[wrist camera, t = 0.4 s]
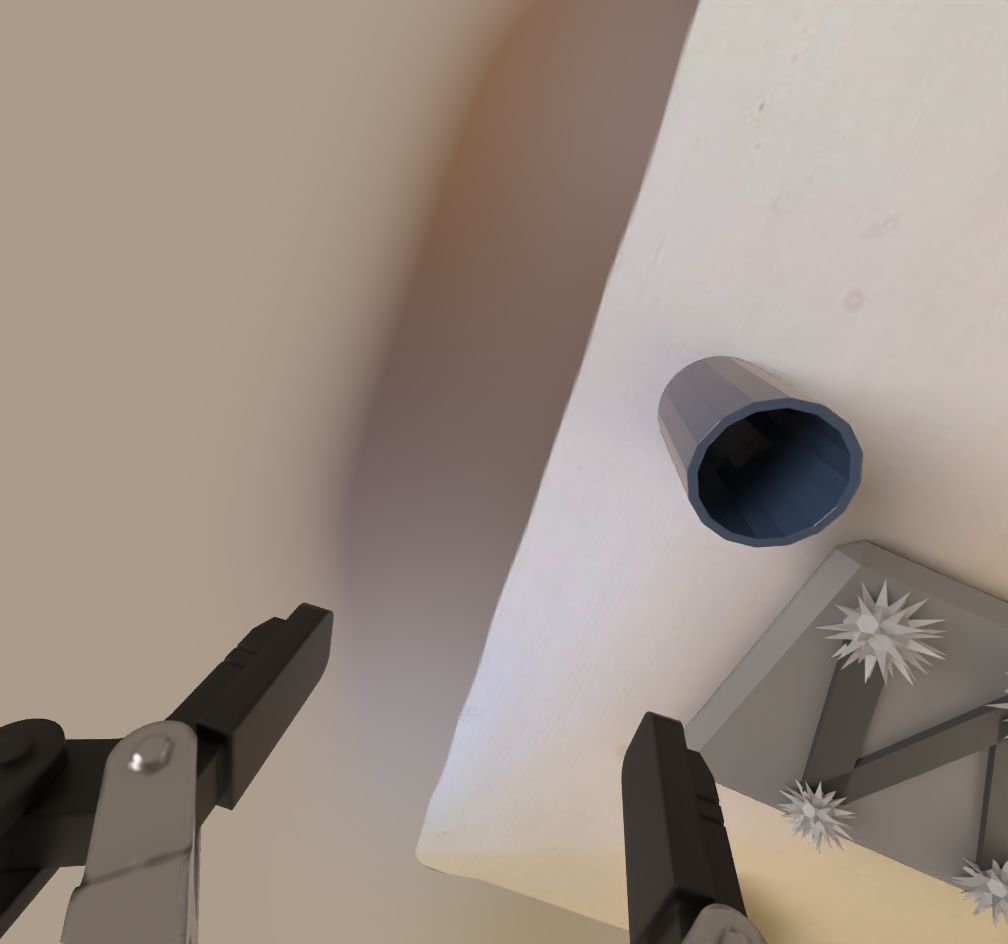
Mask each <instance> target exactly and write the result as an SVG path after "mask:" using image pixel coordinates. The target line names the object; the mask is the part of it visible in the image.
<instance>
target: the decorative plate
mask: <svg viewBox="0 0 1008 944" xmlns="http://www.w3.org/2000/svg"><path fill="white" fill-rule="evenodd" d="M684 735H685V740H686V745H687V748H688V749H691V750H694V751H697V752H700V754H701V756H702V757H703V759H704V761H705V762H706V764H707V766H708V768H709V769H710V771H711V773H712V775H713V776H714V781H715V782H716V783H718V784H721V785H723V786H725V787H727V788H730V789H732V790H734V791H737V792H739V793H741V794H744V795H746V796H748V797H750V798H753V799H755V800H757V801H760V802H762V803H764V804H767V805H769V806H771V807H774V808H776V809H778V810H780V811H783V812H785V813H787V814H785V815H782V816H785V817H795V818H794V819H792V820H791V821H790V822H789V823H794V822H797V823H796V824H795V826H794V827H793V828H792V830H791V831H793V830H795V829H797V828H798V829H797V830H796V832H795V833H794V835H795V834H797V833H799V832H800V831H802V830H803V829H804V831H803V835H802V839H803V837H804V836H805V835H806V834H807V833H808V845H809V843H810V841H812V838H813V836H814V839H815V844H816V850H817V845H818V848H819V853H820V847H821V838H822V834H823V836H824V837H825V839H826V841H827V842H828V844H829V845H830V847H832V849H833V850H834V852H835V849H834V847H833V844H832V841H831V839H830V836H831V837H832V839H833V840H834V841H835V843H836V844H837V845H839V846H840V847H841V848H842V846H841V844H840V842H839V840H838V838H837V836H836V835H838V836H840V837H843V838H845V839H847V840H850V841H852V842H854V843H856V844H859V845H861V846H863V847H866V848H868V849H870V850H873V851H875V852H877V853H879V854H882V855H884V856H886V857H889V858H891V859H893V860H896V861H898V862H900V863H902V864H905V865H907V866H909V867H912V868H914V869H916V870H919V871H921V872H923V873H926V874H928V875H930V876H932V877H935V878H937V879H939V880H942V881H944V882H946V883H949V884H951V885H953V886H955V887H958V888H960V889H962V890H965V891H964V892H961V893H965V894H969V895H968V896H966V897H965V898H963V899H974V898H978V899H977V900H976V901H975V902H977V901H980V903H979V904H978V906H977V908H976V909H975V911H974V912H973V913H975V912H976V913H975V915H977V914H979V913H980V912H982V911H984V910H985V909H987V908H989V907H991V906H992V908H993V924H994V929H995V927H996V925H997V923H998V920H999V918H1000V916H1001V914H1002V912H1003V913H1004V916H1005V918H1006V921H1007V924H1008V603H1007V602H1005V601H1003V600H1000V599H998V598H996V597H993V596H991V595H989V594H986V593H984V592H982V591H979V590H977V589H975V588H973V587H970V586H968V585H966V584H963V583H961V582H959V581H956V580H954V579H952V578H949V577H947V576H945V575H943V574H940V573H938V572H936V571H933V570H931V569H929V568H926V567H924V566H922V565H919V564H917V563H915V562H913V561H910V560H908V559H906V558H903V557H901V556H899V555H896V554H894V553H892V552H889V551H887V550H885V549H882V548H880V547H878V546H876V545H873V544H871V543H869V542H866V541H864V540H861V541H857V542H853V543H849V544H846V545H842V546H838V547H835V548H834V549H833V550H832V552H831V553H830V554H829V555H828V556H827V558H826V559H825V560H824V561H823V562H822V564H821V565H820V566H819V567H818V568H817V570H816V571H815V572H814V573H813V575H812V576H811V577H810V578H809V579H808V581H807V582H806V583H805V584H804V585H803V587H802V588H801V589H800V590H799V591H798V593H797V594H796V595H795V596H794V597H793V599H792V600H791V601H790V602H789V604H788V605H787V606H786V607H785V608H784V610H783V611H782V612H781V613H780V614H779V616H778V617H777V618H776V619H775V620H774V622H773V623H772V624H771V625H770V626H769V628H768V629H767V630H766V631H765V632H764V634H763V635H762V636H761V637H760V639H759V640H758V641H757V642H756V643H755V645H754V646H753V647H752V648H751V649H750V651H749V652H748V653H747V654H746V655H745V657H744V658H743V659H742V660H741V661H740V663H739V664H738V665H737V666H736V668H735V669H734V670H733V671H732V672H731V674H730V675H729V676H728V677H727V678H726V680H725V681H724V682H723V683H722V684H721V686H720V687H719V688H718V689H717V690H716V692H715V693H714V694H713V695H712V697H711V698H710V699H709V700H708V701H707V703H706V704H705V705H704V706H703V707H702V709H701V710H700V711H699V712H698V713H697V715H696V716H695V717H694V718H693V719H692V721H691V722H690V723H689V724H688V726H687V727H686V728H685V729H684ZM789 823H788V824H789ZM791 831H790V832H791ZM790 832H789V833H790ZM794 835H793V836H794ZM829 835H830V836H829ZM802 839H801V840H802ZM839 846H838V847H839ZM842 849H843V848H842ZM843 851H844V850H843ZM835 853H836V852H835ZM975 915H974V916H975Z"/></svg>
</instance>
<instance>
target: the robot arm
mask: <svg viewBox="0 0 1008 944" xmlns="http://www.w3.org/2000/svg"><path fill="white" fill-rule="evenodd" d="M333 616H334V615H333V612H332V611H330V610H326V609H323V608H320V607H317V606H314V605H310V604H308V603H302V604H301V605H300V606H298V607H297V609H296V610H295V611H294V612H293V613H292V614H291V615H290V616H289V618H288V619H287V620H283V619H280V618H277V617H273V618H272V619H270V620H268V621H266V622H265V623H262V624H261V625H259V626H257V627H255V628H253V629H252V630H251V631H250V633H249V634H248V635H247V636H246V637H245V638H244V639H243V640H242V641H241V642H240V643H239V644H238V646H237V648H235V649H233V650H232V651H231V652H230V653H229V654H228V656H227V657H226V658H225V660H224V661H223V662H221V663H220V664H219V665H218V666H217V667H216V668H215V669H214V670H213V671H212V672H211V673H210V674H209V675H208V677H206V679H205V680H204V681H203V682H202V683H201V684H200V685H199V686H198V687H197V688H196V689H195V690H194V691H193V692H192V693H191V694H190V695H189V696H188V698H186V699H185V701H184V702H183V703H182V704H181V705H180V706H179V707H178V708H177V709H176V710H175V711H174V712H173V713H172V714H171V715H170V716H169V717H168V718H166V719H165V720H164V721H159V722H154V723H151V724H148V725H145V726H143V727H141V728H138V729H137V730H135V731H133V732H131V733H130V734H129V735H127V736H126V737H125V738H120V739H78V740H77V739H73V740H72V739H70V740H69V739H68V740H65V736H64V732H63V729H62V728H61V726H60V725H59V724H57V723H56V722H54V721H51V720H48V719H26V720H22V721H17V722H14V723H11V724H8V725H5V726H3V727H0V938H1V937H2V936H3V935H4V934H5V932H6V931H7V930H8V929H9V927H10V926H11V925H12V924H13V923H14V922H15V920H16V919H17V918H18V917H19V916H20V914H21V913H22V912H23V911H24V910H25V908H26V907H27V906H28V905H29V904H30V902H31V901H32V900H33V899H34V898H35V896H36V895H37V894H38V893H39V891H40V890H41V889H42V888H43V887H44V886H45V884H46V883H47V882H48V881H49V880H50V878H51V877H52V876H53V875H54V874H55V872H56V871H57V870H58V869H59V867H69V866H84V865H86V867H85V871H84V876H83V879H82V882H81V884H80V886H79V887H76V888H75V889H74V891H73V893H72V895H71V898H70V901H69V904H68V908H67V912H66V916H65V921H64V926H63V931H62V935H61V940H60V944H198V917H199V885H200V884H199V883H200V852H201V825H202V824H203V822H204V821H205V819H206V818H207V817H208V815H209V814H210V812H211V811H212V810H213V808H214V807H215V805H218V806H221V807H224V808H227V809H230V810H233V808H234V807H235V805H236V804H237V802H238V801H239V799H240V798H241V796H242V795H243V793H244V792H245V790H246V789H247V787H248V786H249V784H250V783H251V781H252V780H253V779H254V777H255V776H256V774H257V773H258V771H259V770H260V768H261V767H262V765H263V764H264V762H265V760H266V759H267V758H268V756H269V755H270V753H271V752H272V750H273V749H274V747H275V746H276V744H277V743H278V741H279V740H280V738H281V737H282V735H283V734H284V732H285V731H286V729H287V728H288V727H289V725H290V724H291V722H292V721H293V719H294V718H295V716H296V715H297V713H298V712H299V710H300V709H301V707H302V706H303V704H304V703H305V701H306V700H307V698H308V697H309V695H310V694H311V692H312V691H313V689H314V688H315V686H316V685H317V683H318V682H319V680H320V679H321V677H322V675H323V673H324V671H325V668H326V666H327V663H328V659H329V653H330V645H331V636H332V626H333ZM622 799H623V818H624V837H625V856H626V875H627V894H628V913H629V932H630V944H767V942H766V941H765V939H764V937H763V936H762V935H761V933H760V932H759V930H758V929H757V928H756V927H755V926H754V925H753V923H752V922H751V921H750V920H749V919H748V917H747V914H746V911H745V908H744V904H743V899H742V895H741V891H740V887H739V882H738V878H737V874H736V870H735V866H734V861H733V857H732V853H731V849H730V844H729V840H728V836H727V832H726V827H724V819H723V815H722V810H721V806H719V798H718V793H717V789H716V785H715V781H714V776H713V775H712V773H711V771H710V769H709V768H708V766H707V764H706V762H705V761H704V759H703V757H702V756H701V754H700V752H697V751H694V750H691V749H688V748H687V745H686V740H685V735H684V729H683V726H682V723H681V722H680V721H678V720H675V719H672V718H669V717H665V716H662V715H659V714H656V713H653V712H647V713H646V714H645V715H644V717H643V719H642V721H641V723H640V725H639V727H638V729H637V731H636V733H635V735H634V737H633V739H632V741H631V743H630V745H629V747H628V749H627V751H626V754H625V757H624V761H623V766H622Z"/></svg>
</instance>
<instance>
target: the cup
mask: <svg viewBox="0 0 1008 944" xmlns="http://www.w3.org/2000/svg"><path fill="white" fill-rule="evenodd" d="M658 421H659V426H660V432H661V434H662V437H663V439H664V442H665V444H666V446H667V449H668V451H669V454H670V456H671V458H672V461H673V463H674V465H675V468H676V470H677V473H678V475H679V477H680V480H681V482H682V485H683V487H684V489H685V492H686V494H687V497H688V499H689V501H690V503H691V505H692V506H693V508H694V510H695V512H696V513H697V515H698V517H699V518H700V520H701V522H702V523H703V524H704V525H706V526H707V527H708V528H710V529H711V530H713V531H714V532H715V533H717V534H718V535H720V536H721V537H722V538H724V539H726V540H728V541H732V542H736V543H740V544H744V545H748V546H752V547H769V546H783V545H790V544H792V543H795V542H797V541H800V540H802V539H805V538H807V537H810V536H812V535H815V534H817V533H819V532H821V531H822V530H823V529H824V528H826V527H827V526H828V525H829V524H830V523H832V522H833V521H834V520H835V519H836V518H838V517H839V516H840V515H841V514H842V513H844V511H845V510H846V509H847V507H848V505H849V503H850V502H851V500H852V498H853V496H854V494H855V493H856V491H857V489H858V487H859V485H860V483H861V472H862V457H863V453H862V450H861V447H860V445H859V443H858V441H857V439H856V436H855V434H854V432H853V430H852V428H851V426H850V425H849V424H848V423H847V422H846V421H844V420H843V419H842V418H841V417H839V416H838V415H837V414H835V413H834V412H833V411H831V410H830V409H829V408H827V407H826V406H825V405H823V404H821V403H819V402H818V401H816V400H814V399H812V398H811V397H809V396H807V395H806V394H804V393H802V392H800V391H799V390H797V389H795V388H793V387H792V386H790V385H788V384H786V383H785V382H783V381H781V380H779V379H778V378H776V377H774V376H772V375H771V374H769V373H767V372H766V371H764V370H762V369H760V368H759V367H757V366H755V365H753V364H752V363H750V362H747V361H744V360H741V359H738V358H733V357H725V356H718V357H710V358H705V359H702V360H699V361H696V362H694V363H692V364H690V365H689V366H687V367H685V368H684V369H682V370H681V371H680V372H679V373H678V374H676V375H675V377H674V378H673V379H672V380H671V381H670V382H669V384H668V385H667V387H666V388H665V390H664V392H663V394H662V397H661V399H660V403H659V409H658Z"/></svg>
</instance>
